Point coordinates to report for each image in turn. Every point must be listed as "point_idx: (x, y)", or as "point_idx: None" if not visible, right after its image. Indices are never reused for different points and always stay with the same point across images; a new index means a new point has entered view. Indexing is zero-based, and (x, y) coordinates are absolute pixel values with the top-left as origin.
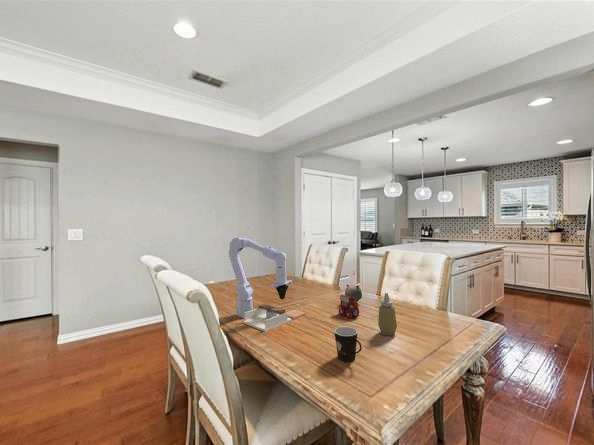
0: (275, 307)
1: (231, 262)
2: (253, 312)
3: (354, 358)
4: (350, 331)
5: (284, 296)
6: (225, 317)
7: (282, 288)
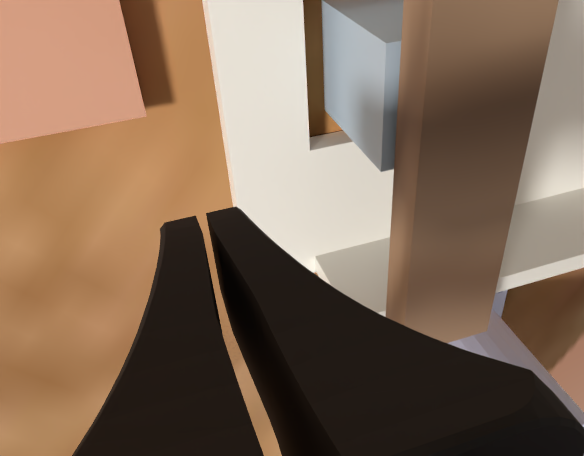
0: (440, 69)
1: None
2: (533, 246)
3: None
4: None
5: (180, 250)
6: (548, 365)
7: (516, 397)
